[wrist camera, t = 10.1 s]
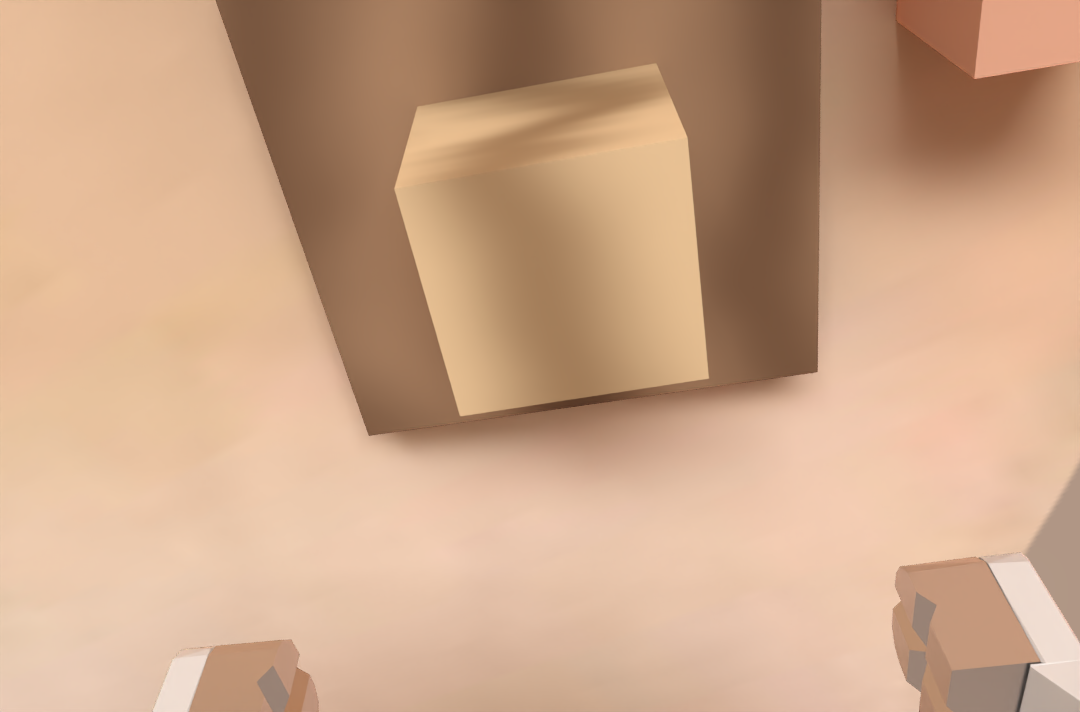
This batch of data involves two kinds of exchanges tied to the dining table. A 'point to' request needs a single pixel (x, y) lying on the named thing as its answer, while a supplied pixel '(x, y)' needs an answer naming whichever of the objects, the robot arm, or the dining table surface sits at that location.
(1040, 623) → the robot arm
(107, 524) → the dining table surface
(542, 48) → the base board
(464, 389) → the oak block
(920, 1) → the terracotta block
